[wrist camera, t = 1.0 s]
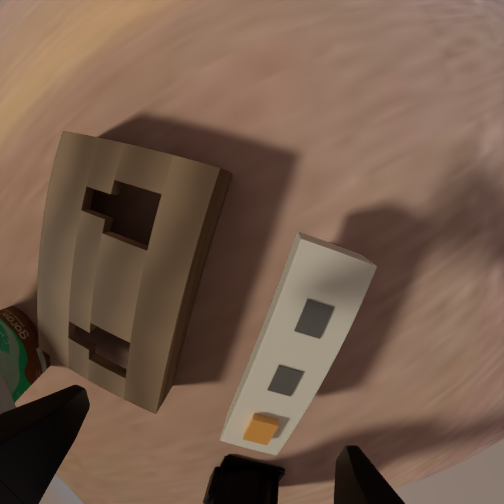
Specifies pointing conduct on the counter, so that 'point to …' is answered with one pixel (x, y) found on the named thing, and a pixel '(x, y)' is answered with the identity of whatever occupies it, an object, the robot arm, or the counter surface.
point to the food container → (18, 356)
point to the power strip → (297, 342)
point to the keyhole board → (123, 262)
